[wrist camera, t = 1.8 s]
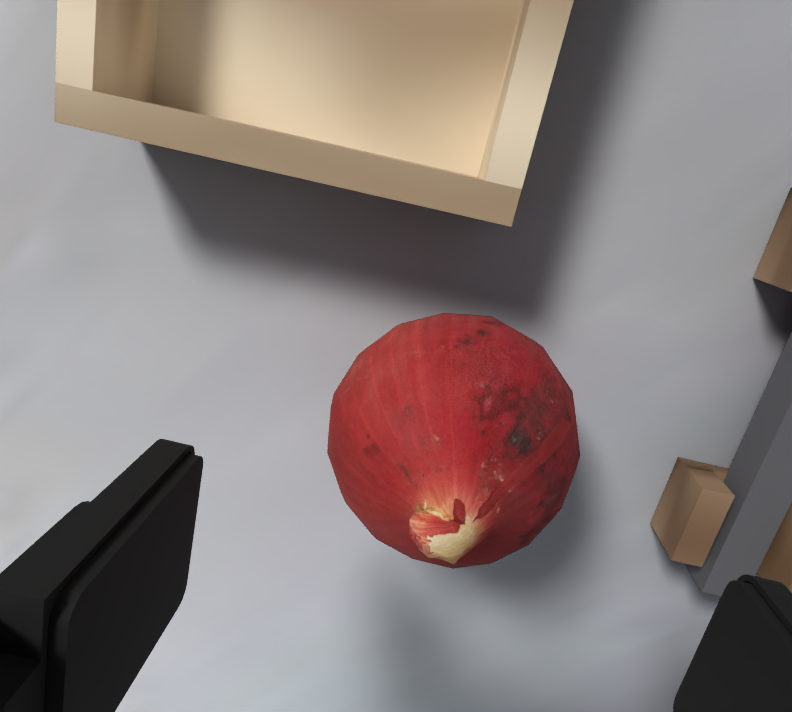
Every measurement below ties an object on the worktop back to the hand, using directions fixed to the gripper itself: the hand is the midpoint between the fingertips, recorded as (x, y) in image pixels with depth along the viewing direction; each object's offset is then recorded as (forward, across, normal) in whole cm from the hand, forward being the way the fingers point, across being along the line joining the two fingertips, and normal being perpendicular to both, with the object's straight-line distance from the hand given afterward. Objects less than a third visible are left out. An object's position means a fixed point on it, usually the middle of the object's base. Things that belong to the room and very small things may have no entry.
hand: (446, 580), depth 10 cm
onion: (+8, 0, -1) cm, 8 cm away
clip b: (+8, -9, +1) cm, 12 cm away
